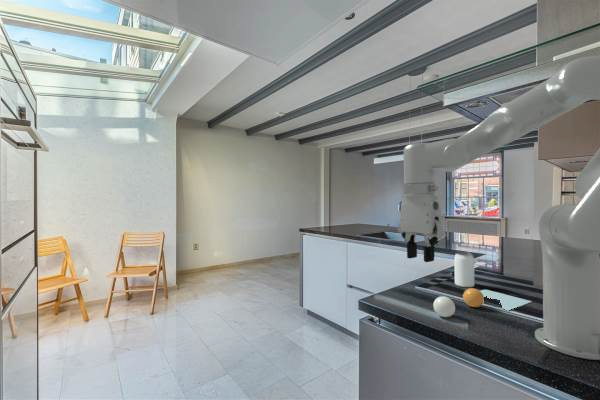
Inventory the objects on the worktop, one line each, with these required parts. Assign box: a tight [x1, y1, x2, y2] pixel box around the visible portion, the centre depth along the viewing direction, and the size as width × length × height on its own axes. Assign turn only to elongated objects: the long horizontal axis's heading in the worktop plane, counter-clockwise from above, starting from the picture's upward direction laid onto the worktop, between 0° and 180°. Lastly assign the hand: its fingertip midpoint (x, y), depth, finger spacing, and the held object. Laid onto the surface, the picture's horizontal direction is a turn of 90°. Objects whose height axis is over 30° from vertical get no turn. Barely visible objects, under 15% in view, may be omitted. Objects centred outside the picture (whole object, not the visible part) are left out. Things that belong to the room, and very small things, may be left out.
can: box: [453, 251, 475, 289], centre depth 108 cm, size 6×6×12 cm
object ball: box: [462, 287, 484, 308], centre depth 87 cm, size 6×6×6 cm
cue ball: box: [432, 295, 456, 318], centre depth 80 cm, size 6×6×6 cm
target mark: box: [479, 289, 533, 312], centre depth 92 cm, size 14×14×1 cm
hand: (420, 258), depth 76 cm, fingers open, 4 cm apart
